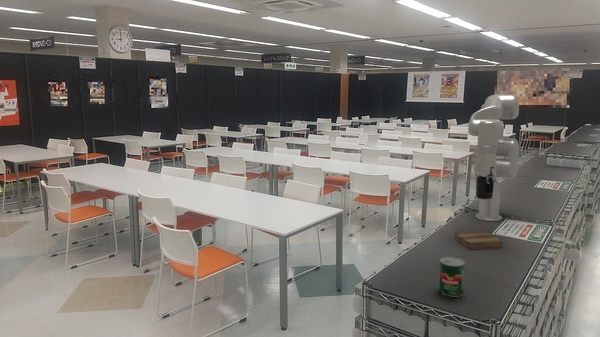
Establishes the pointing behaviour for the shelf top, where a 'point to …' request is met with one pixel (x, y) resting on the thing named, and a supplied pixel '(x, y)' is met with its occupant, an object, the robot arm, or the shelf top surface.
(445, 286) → the canned tomato
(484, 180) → the supplement bottle
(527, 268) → the shelf top surface
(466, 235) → the wavy wooden tray
